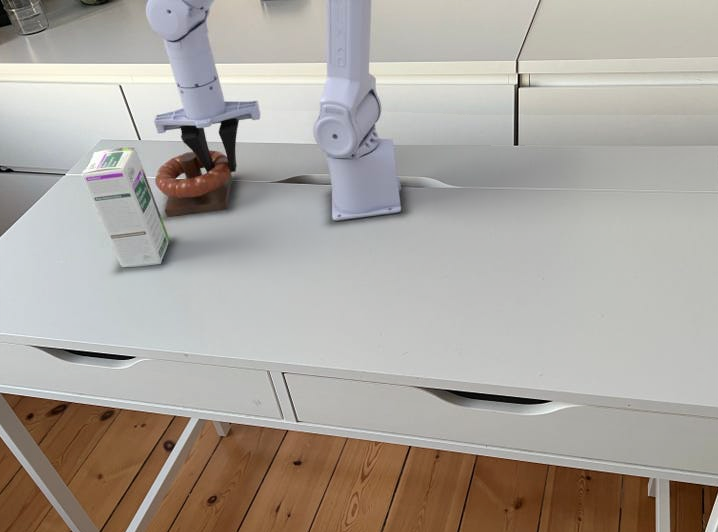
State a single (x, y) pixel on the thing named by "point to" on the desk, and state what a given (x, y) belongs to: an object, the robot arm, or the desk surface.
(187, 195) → the ring
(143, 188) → the syrup box
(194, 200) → the post
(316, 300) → the desk surface
